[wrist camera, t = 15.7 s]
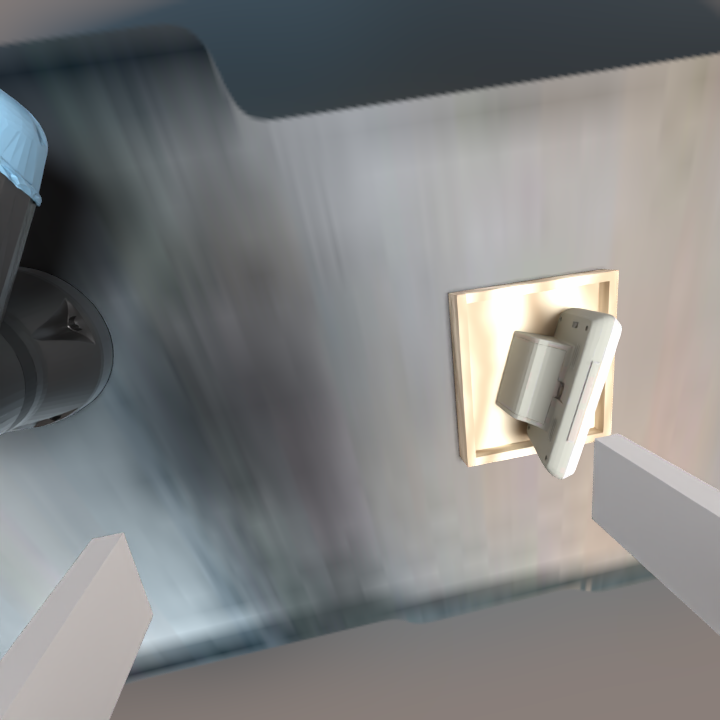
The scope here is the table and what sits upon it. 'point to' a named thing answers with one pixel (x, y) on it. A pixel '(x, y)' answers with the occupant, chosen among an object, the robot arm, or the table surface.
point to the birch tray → (492, 346)
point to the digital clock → (559, 384)
